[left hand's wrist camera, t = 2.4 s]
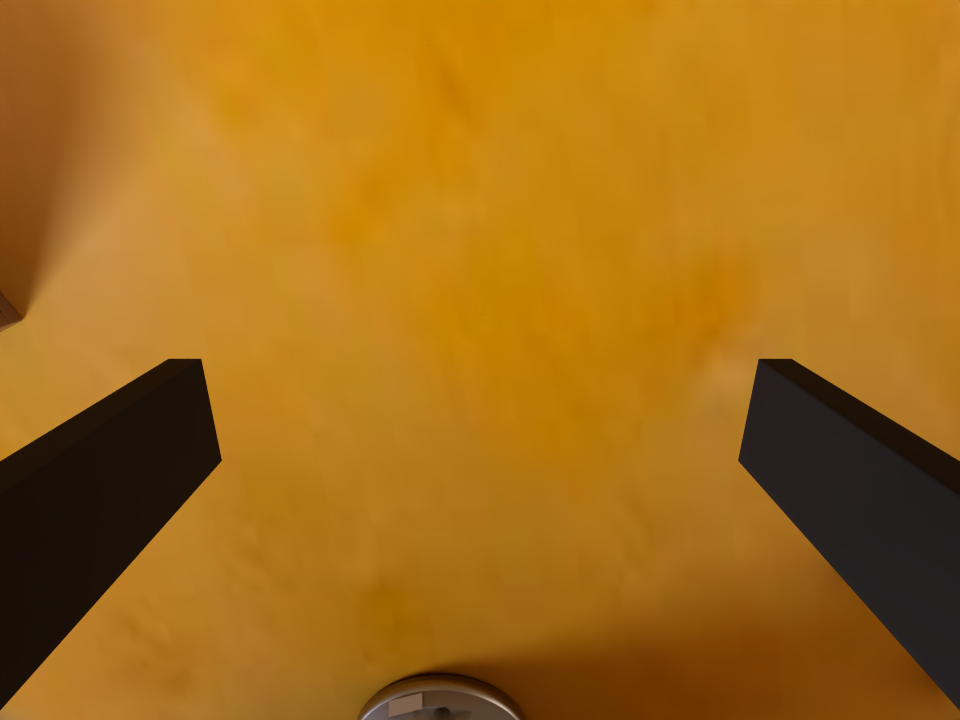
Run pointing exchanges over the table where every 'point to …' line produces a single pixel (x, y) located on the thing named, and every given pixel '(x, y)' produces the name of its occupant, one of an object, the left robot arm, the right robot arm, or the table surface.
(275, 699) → the table surface
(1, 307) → the chest
